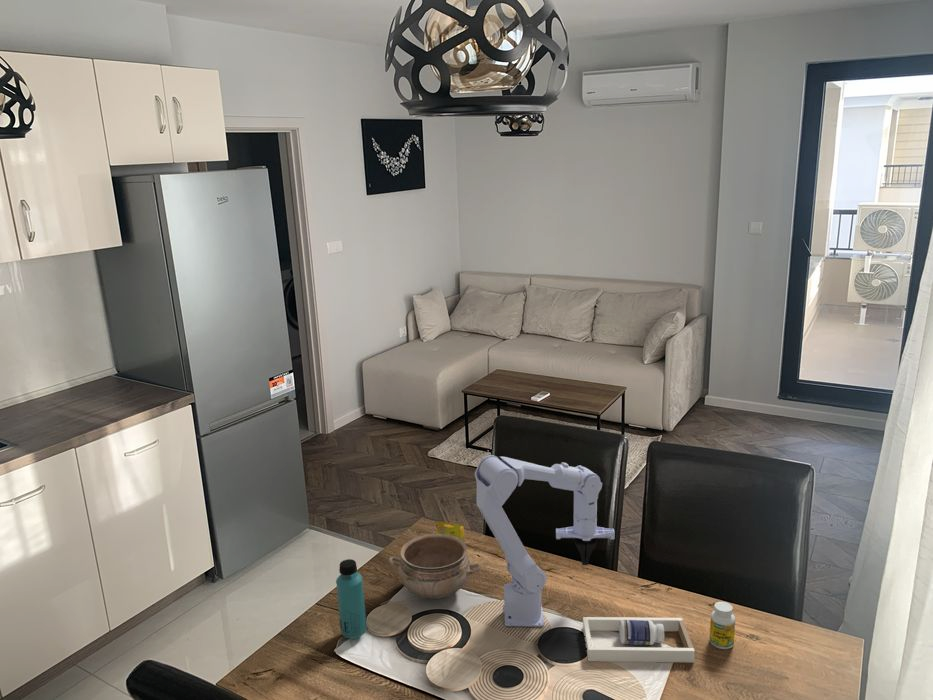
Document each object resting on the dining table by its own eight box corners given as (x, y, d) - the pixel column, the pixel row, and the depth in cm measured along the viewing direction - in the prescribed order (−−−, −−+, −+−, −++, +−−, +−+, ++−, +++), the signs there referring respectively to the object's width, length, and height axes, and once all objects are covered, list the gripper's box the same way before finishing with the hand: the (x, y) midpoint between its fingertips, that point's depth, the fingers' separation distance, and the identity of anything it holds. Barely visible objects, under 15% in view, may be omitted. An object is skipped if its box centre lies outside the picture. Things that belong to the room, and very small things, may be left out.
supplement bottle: (733, 637, 166) (735, 601, 164) (734, 652, 161) (736, 615, 159) (709, 633, 168) (711, 598, 165) (709, 648, 163) (711, 611, 160)
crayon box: (465, 556, 204) (464, 520, 202) (462, 562, 202) (460, 525, 199) (442, 552, 207) (440, 516, 204) (438, 557, 204) (436, 521, 202)
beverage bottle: (372, 630, 173) (366, 557, 168) (359, 647, 167) (353, 572, 162) (348, 625, 175) (342, 553, 170) (335, 642, 169) (328, 567, 164)
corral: (588, 661, 160) (588, 649, 159) (583, 627, 171) (583, 617, 170) (694, 662, 158) (694, 650, 157) (681, 628, 170) (682, 617, 169)
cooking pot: (488, 575, 195) (486, 535, 192) (475, 617, 177) (473, 573, 174) (401, 568, 200) (398, 529, 197) (380, 608, 182) (376, 565, 179)
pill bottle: (622, 645, 162) (665, 647, 161) (621, 620, 163) (664, 621, 162) (619, 642, 167) (661, 643, 166) (618, 618, 168) (660, 619, 167)
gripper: (557, 522, 173) (557, 571, 177) (616, 522, 172) (615, 571, 176) (555, 508, 180) (555, 556, 183) (612, 508, 179) (611, 556, 182)
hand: (584, 563), depth 180 cm, fingers closed
